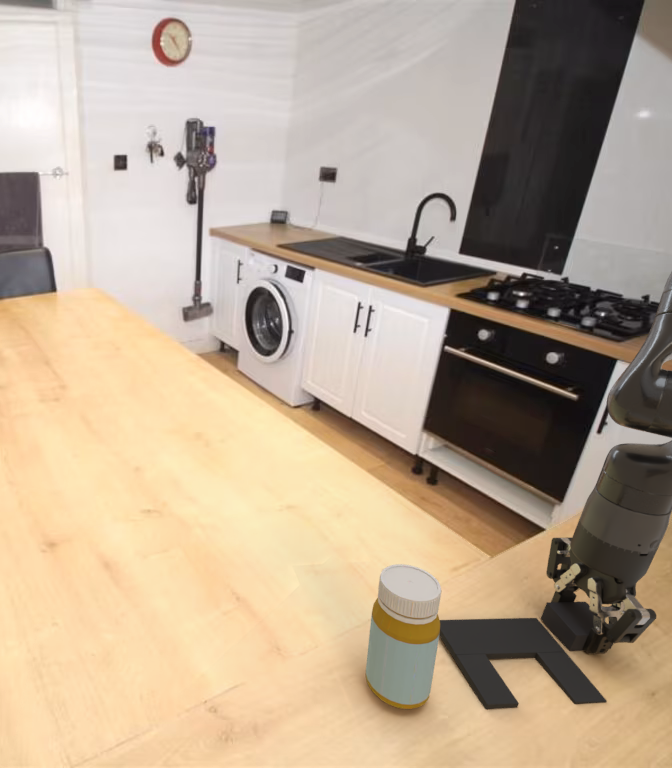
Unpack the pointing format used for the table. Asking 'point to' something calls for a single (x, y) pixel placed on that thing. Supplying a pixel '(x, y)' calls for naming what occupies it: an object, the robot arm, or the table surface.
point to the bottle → (404, 636)
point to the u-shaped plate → (508, 641)
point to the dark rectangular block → (569, 623)
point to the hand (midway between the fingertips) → (575, 631)
